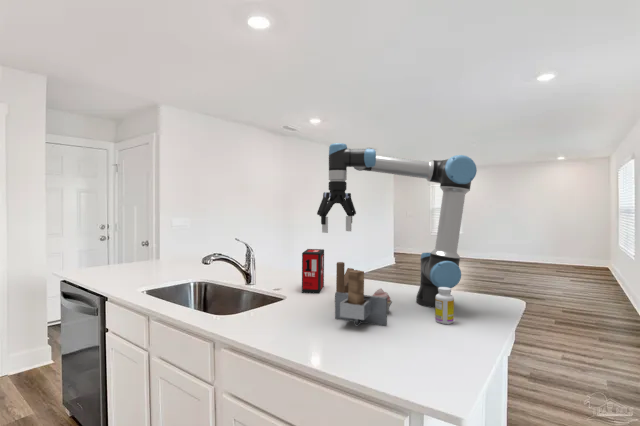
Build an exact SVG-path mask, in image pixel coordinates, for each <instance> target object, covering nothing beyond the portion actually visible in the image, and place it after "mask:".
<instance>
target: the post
mask: <svg viewBox="0 0 640 426" xmlns="http://www.w3.org/2000/svg"><path fill="white" fill-rule="evenodd" d="M364 295H365V271H363V270H358V269H354V270H352V271H349V277H348V303H352V304H360V305H363V304H364Z"/></svg>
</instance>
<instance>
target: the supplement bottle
mask: <svg viewBox="0 0 640 426" xmlns="http://www.w3.org/2000/svg"><path fill="white" fill-rule="evenodd" d="M438 292H439V294H437V295H436V297H435V307H434V310H435V314H434V315H435V317H434V318H435V319H434V320H435V322H436V323H439V324H443V325H450V324H453V323H454V320H455V311H454V310H455V298H454V296H453V294H451V293H452V288H448V287H439V288H438Z"/></svg>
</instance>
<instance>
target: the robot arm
mask: <svg viewBox="0 0 640 426" xmlns="http://www.w3.org/2000/svg"><path fill="white" fill-rule="evenodd" d="M328 147H329V148H328V180H329V181H328V192H327V191H324V192H323V194H322V199H321V202H320V203H319V204H320V205H319V207H318V210H317V211H316V215H317V216H319V217H320V223H321V233H324V234H325V233H326V234H328V233H329V216H328V215H329V212H330V211H331V210H332V208H333V206H334V205H335V204H340V205H341V207H342V209H343V210H344V212H345V214H346V216H345V232H352V224H353V217H355V215H356V214H357V211H356V208H355V205H354V202H353V199H352V194H351V192H346V191H347V184H348V183H347V175H348V173H347V172H348V171H347V170H348V168H353V169H354V170H356V171H366V172H375V173H381V174H389V175H397V176H404V177H410V178H419V179H426V181H427V182H431V183H436V184H440V185H439V189H441V190H442V198H441V203H440V212H439V220H438V226H437V233H436V239H435V247H434V249H433V250H432V251H430V252H422V253H421V254H420V284H419V288H418V291H417V293H416V296H415V297H416V298H415V299H416V300H415V303H417V304H418V305H420V306H423V307H426V308H427V307H428V308H435V297H436V295H437V294H439V292H438V288H439V287H448V288H451V289H452V288H455V287H456V286H457V285H458V284H459V283H460V281H461V279H462V271H461V268H460V262H461V261H460V260H461V256H460V254H458V247H459V239H460V233H461V226H462V221H463V213H464V204H465V200H466V199H465V198H466V194H467V193H469V192H470V191H471V187H472V186H471V184H472V181H473V180H474V179H475V178H476V175H477V173H478V172H477V171H478V170H477V165H476V163H475V161H474V160H473V159H472V158H471V157H469V156H467V155H464V154H458V155H453V156H451V157H449V158H447V159H443V160H441V159H440V160H435V159H431V160H430V161H425V160H419V159H418V160H417V159H411V158H410V159H409V158H401V157H394V156H393V157H392V156H387V155H380V154H376V153H377V151H376V149H374V148H368V147H367V148H348V145H347V144H346V143H340V142H336V143H331V144H330V145H329V146H328Z"/></svg>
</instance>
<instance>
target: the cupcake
mask: <svg viewBox="0 0 640 426" xmlns="http://www.w3.org/2000/svg"><path fill="white" fill-rule="evenodd" d="M371 296H378V297H387V315H388V314H389V312H390V308H391V306H392V304H393V301H392V300H391V297H390V295H389V294H388V292H386V291H384V289H383V288H382V287H381V288H378V289H376V291H375V292H374V293H373V294H372V295H371Z"/></svg>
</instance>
